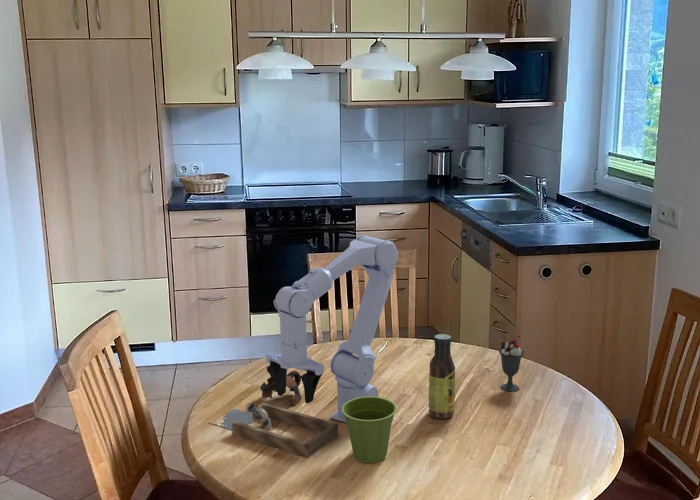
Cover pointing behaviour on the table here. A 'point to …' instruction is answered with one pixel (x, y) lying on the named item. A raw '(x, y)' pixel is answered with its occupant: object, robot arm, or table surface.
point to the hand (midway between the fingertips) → (295, 397)
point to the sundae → (510, 362)
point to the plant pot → (369, 426)
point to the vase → (260, 416)
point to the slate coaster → (236, 418)
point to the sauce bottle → (442, 379)
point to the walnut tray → (285, 443)
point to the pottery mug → (289, 383)
